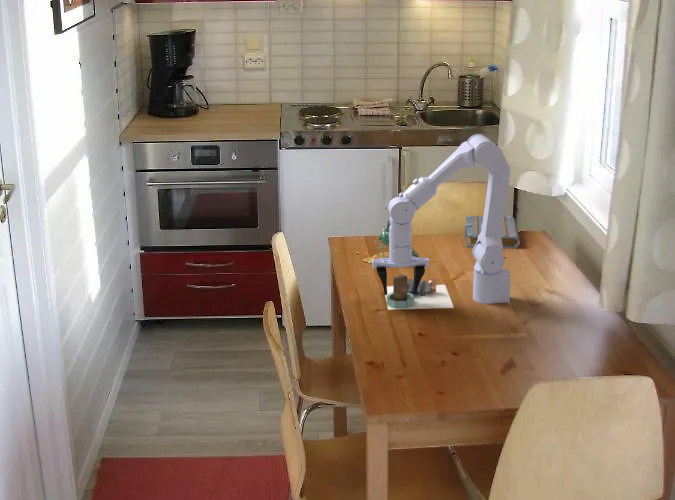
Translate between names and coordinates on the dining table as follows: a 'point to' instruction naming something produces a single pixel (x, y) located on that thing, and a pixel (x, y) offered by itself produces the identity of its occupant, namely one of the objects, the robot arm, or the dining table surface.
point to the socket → (400, 304)
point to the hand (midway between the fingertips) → (400, 293)
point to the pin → (400, 288)
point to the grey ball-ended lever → (429, 286)
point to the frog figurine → (385, 240)
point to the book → (507, 236)
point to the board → (427, 298)
